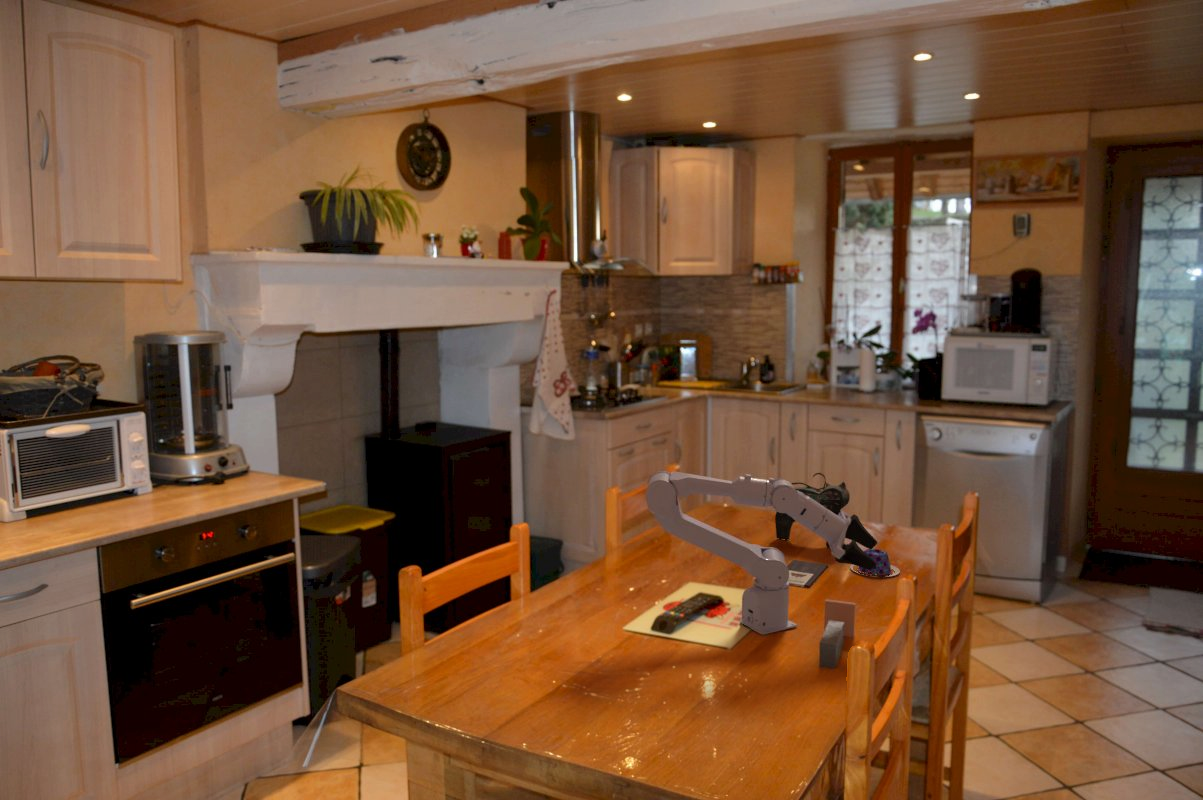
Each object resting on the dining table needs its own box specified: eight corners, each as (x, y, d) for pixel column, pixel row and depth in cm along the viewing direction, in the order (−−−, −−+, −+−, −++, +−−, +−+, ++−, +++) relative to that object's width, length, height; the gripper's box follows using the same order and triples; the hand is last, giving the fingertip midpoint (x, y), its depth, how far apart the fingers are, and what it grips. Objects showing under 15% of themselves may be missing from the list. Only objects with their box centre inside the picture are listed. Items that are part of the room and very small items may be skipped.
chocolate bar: (828, 564, 233) (809, 585, 217) (827, 568, 233) (809, 589, 217) (793, 559, 237) (772, 580, 221) (793, 563, 237) (772, 583, 222)
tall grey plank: (835, 670, 173) (836, 644, 172) (819, 667, 174) (819, 642, 173) (843, 646, 184) (844, 622, 183) (828, 643, 185) (828, 620, 184)
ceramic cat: (848, 546, 251) (851, 474, 248) (841, 552, 246) (844, 479, 243) (779, 535, 261) (781, 466, 259) (771, 540, 256) (773, 470, 253)
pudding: (906, 580, 224) (907, 559, 223) (857, 579, 224) (857, 559, 224) (891, 564, 236) (892, 544, 235) (844, 564, 236) (845, 544, 235)
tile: (853, 637, 188) (855, 604, 187) (823, 633, 190) (825, 601, 189) (854, 634, 189) (855, 602, 188) (824, 630, 192) (826, 598, 191)
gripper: (827, 526, 182) (884, 563, 182) (833, 489, 195) (886, 524, 195) (806, 548, 186) (863, 585, 186) (813, 511, 198) (866, 545, 198)
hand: (873, 555), depth 190 cm, fingers open, 7 cm apart
